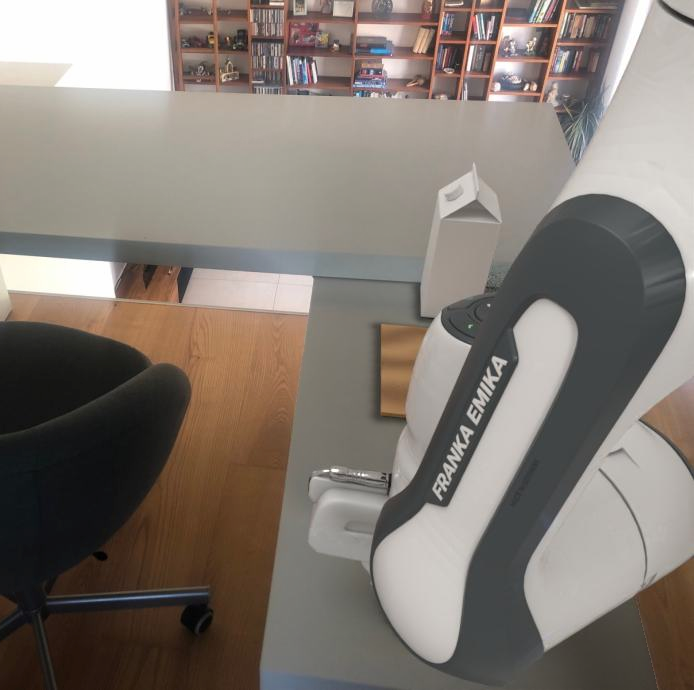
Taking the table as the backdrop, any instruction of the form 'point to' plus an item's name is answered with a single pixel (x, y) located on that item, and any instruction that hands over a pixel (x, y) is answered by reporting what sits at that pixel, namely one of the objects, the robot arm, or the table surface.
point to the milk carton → (460, 243)
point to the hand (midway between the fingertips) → (423, 587)
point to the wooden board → (398, 365)
